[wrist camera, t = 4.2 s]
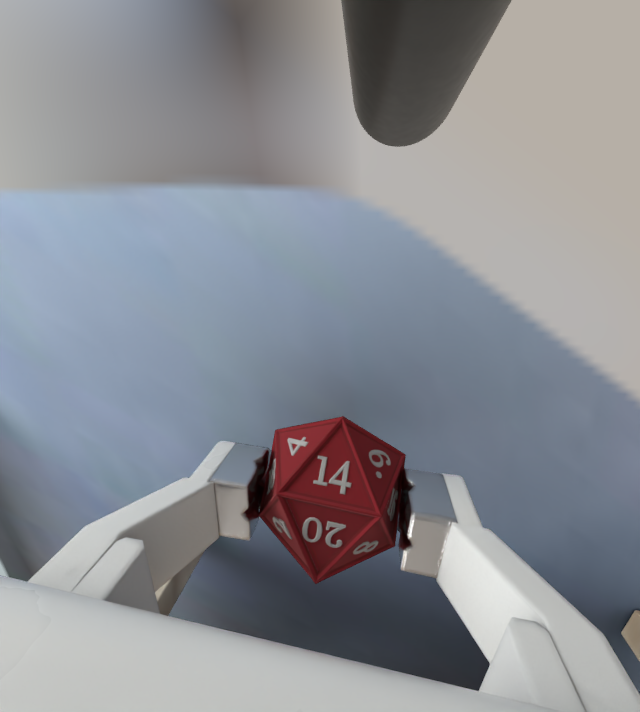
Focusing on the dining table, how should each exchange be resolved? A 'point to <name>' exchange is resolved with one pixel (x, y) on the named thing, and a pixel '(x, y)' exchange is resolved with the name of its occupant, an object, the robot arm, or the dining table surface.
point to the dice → (332, 494)
